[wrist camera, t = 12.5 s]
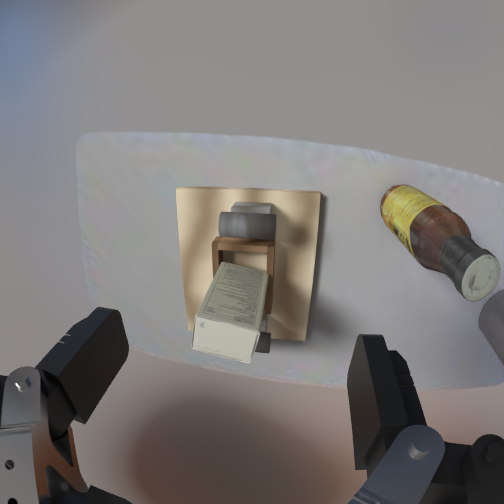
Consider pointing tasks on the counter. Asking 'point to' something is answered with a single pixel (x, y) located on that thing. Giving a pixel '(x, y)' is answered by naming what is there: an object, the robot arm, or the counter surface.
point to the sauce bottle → (440, 240)
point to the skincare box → (231, 313)
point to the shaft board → (252, 249)
